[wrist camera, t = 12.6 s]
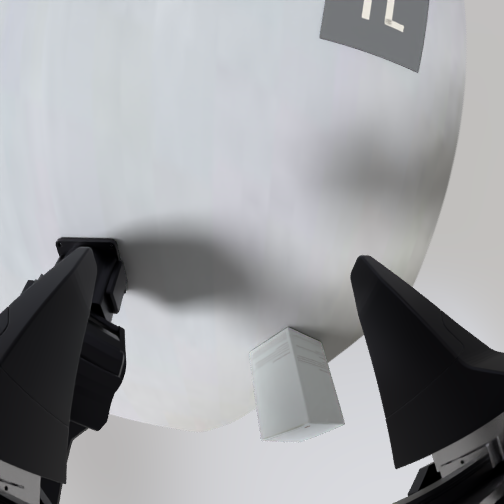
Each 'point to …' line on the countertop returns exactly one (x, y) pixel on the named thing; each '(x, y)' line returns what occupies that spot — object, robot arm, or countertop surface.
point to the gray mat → (378, 27)
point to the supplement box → (293, 388)
